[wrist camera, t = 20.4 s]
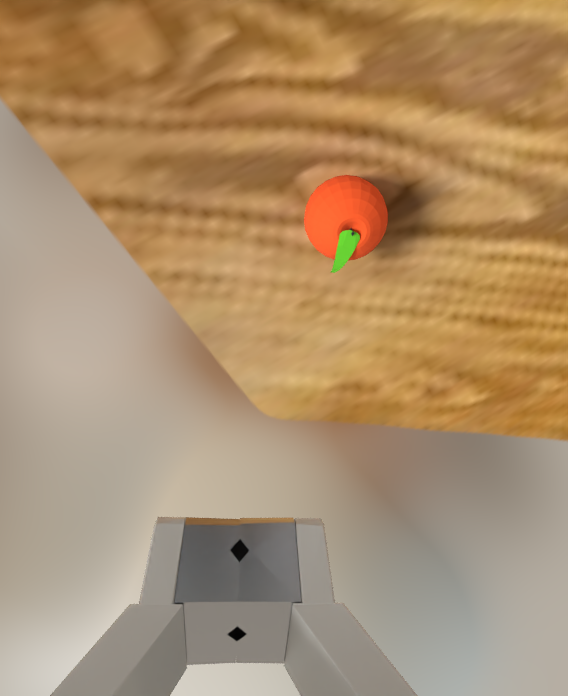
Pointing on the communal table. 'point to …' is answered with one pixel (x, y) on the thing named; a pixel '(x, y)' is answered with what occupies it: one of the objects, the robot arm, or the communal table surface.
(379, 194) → the clementine
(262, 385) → the communal table surface
